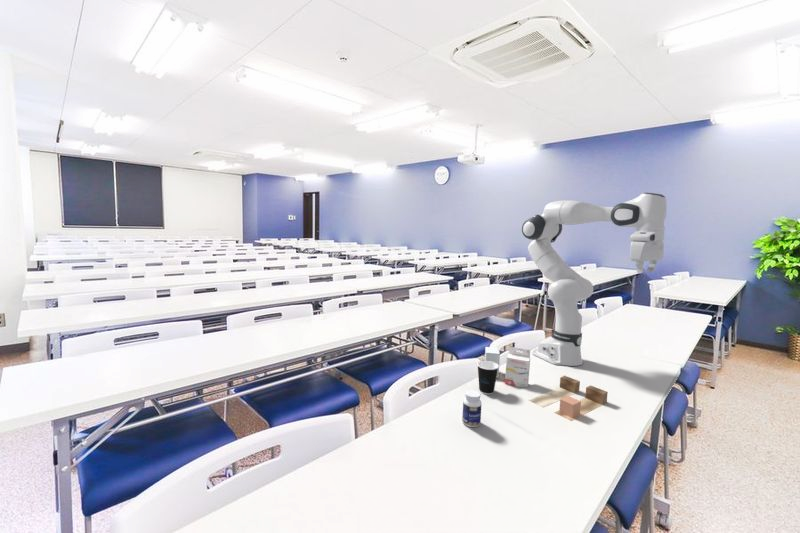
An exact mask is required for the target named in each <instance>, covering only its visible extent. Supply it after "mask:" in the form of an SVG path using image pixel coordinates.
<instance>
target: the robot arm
mask: <svg viewBox="0 0 800 533" xmlns="http://www.w3.org/2000/svg"><path fill="white" fill-rule="evenodd" d="M666 217H667V199H666V196H665V195H663V194H661V193H653V192H643V193H641V194H640V195H638V196H637V197H635V198H633V199H630V200H627V201H623V202H621V203H618V204H615V205H614V206H601V205H597V204H593V203H588V202H585V201H579V200H572V199H571V200H570V199H569V200H568V199H565V200H563V199H562V200H555V201H551V202H548V203H547V204H546V205H545V206H544V208H543V212H542V214H535V215H534V216H532V217H530V218H529V219H526V220H525V221H523V224H522V227H521V233H522V235H523V237H524V238H526V239H528V240H532V241H531V242H530V243H529V244H528V246H527V251H528V253H529V256H530V257H531V259H532V261H533V262H534V264H535V265H536V266H537V268H538V270H539V271H540V272H541V273H542V275H543V276H544V277H545V278H546V279H547V280H550V281H552V283H550V285H549V286H548V288H547V296H548V298H549V299H550V301H551V302H552V304H553V305H554V311H555V324H554V327H555V328H554V329H553V328H552V329H551V330H550V331H549V333H550V334H551V335H550V336H548V337H546V338H544V339H542V340H540V342H539V343H538V345H537V348H536V349H533V350H532V352H531V354H532V355H533V356H535V357H537V358H539V359H541V360H544V361H546V362H548V363H550V364H552V365H557V366H566V367H567V366H569V367H571V366H572V367H578V366H581V365H583V363H584V362H583V359H582V351H581V348H582V347H581V345H582V339H583V338H582V337H583V333H582V324H583V316H582V314H581V313H580V312H579V308H578V302H582V301H585V300H587V299H588V298H590V297H591V296H592V295H593V293H594V285H593V283H592V282H591V281H590V280H588V279H587V278H585V277H583V276H581V275H580V274H578V273H577V271H575V270H574V269H573V268H571V267H570V266H569V264H567V263H566V262H565V261H564V260H563V258H562V257H561V256H560V255H559V253H558V252H557V251H556V250H555V249H554V247H553V246H552V243H555V242H556V240H557V238H558V237H560V235H561V233H562V231H563V225H566V226H568V225H569V226H572V225H583V224H590V223H598V222H612V223H613V224H614V225H616V226H617V227H622V228H635V231H634V232H633V233H632V234H631V235H630V236H629V241H631V243H630V249H629V257H630V260H631V262H635V266H636V273H637V274H644V272H645V271H644V270H645V268H644V263H645V262H649V264H648V267H647V271H648V272H651V273H652V272H655V270H656V266H657V264H658V261H659V260H661V261H662V260H663V258H664V250H665V249H664V247H665V246H664V244H665V243H664V238H665V237H664V236H665V229H666V228H665V220H666Z"/></svg>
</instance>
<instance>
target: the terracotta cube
mask: <svg viewBox="0 0 800 533" xmlns="http://www.w3.org/2000/svg"><path fill="white" fill-rule="evenodd" d="M580 407H581V401H580V400H579V399H577V398H575V397H572V396H566V397H564V398H562V399H560V400H559V412H560V413H562V414H564V415H567V416H569V417H571V418H574V417H576V416H578V415H579V414H580Z"/></svg>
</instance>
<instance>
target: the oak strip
mask: <svg viewBox="0 0 800 533" xmlns="http://www.w3.org/2000/svg"><path fill="white" fill-rule="evenodd" d="M584 395H585V397H584V398H582V399H580V400H579V401H581V407H580V414H579V415H578V416H576V417H574V418H571V417H569V416H567V415H564V414H562V413H560V412H559V410H560V409H559V410H556V411H555V412H554V413H555V414H557V415H558V416H560V417H562V418H564V419H567V420H568V421H570V422H572V421H574V420H576V419H578V418H580V417H582V416H584V415H586V414H588V413H589V412H591V411H593V410H595V409H598V408H600V407H601V406H604V405H605V404H607V403H608V401H607V400H608V391H606V390H604V389H600V388H599V387H596V386H593V385H590V384H589V385H588V386H586V388H585V394H584Z"/></svg>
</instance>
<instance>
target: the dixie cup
mask: <svg viewBox="0 0 800 533" xmlns="http://www.w3.org/2000/svg"><path fill="white" fill-rule="evenodd" d="M476 366H477V374H478V390H479V393H480V394H484V395H492V394H493V393H494V392H495V387H496V382H497V381H496V380H497V378H496V376H497V370H498V368H499V369H500V364H499V365H498V364H496V363H494V362H491V361H485V360H480V361H478V362H477V363H476Z"/></svg>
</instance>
